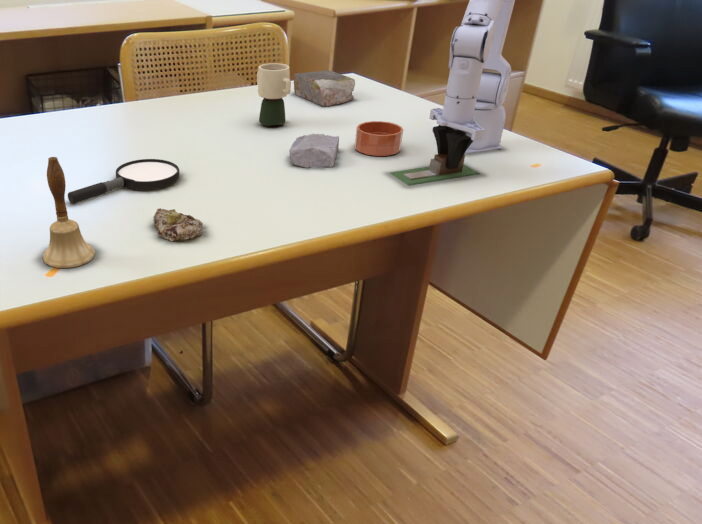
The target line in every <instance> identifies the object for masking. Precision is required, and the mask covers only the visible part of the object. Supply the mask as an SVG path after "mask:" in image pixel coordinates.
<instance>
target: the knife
mask: <svg viewBox="0 0 702 524" xmlns="http://www.w3.org/2000/svg"><path fill="white" fill-rule="evenodd" d="M447 158H448V153H443V154H438V153H437V154H434V155H433V158H430V161H429V166H428V167H429V170H426V171H420V172H413V173H407V174H404V176H405V177H407V178H408V179H410V180H414V179H420V178H426V177H433V176H438V175H443V174H450V173H456V172H462V169H463V164H464V165H465V158H466V154H464V155H463V157H462V159H461V162H460V164H459V166H458V168H455V169H448V168H447Z"/></svg>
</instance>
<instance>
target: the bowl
mask: <svg viewBox="0 0 702 524" xmlns="http://www.w3.org/2000/svg"><path fill="white" fill-rule="evenodd" d="M403 136H404V128H403V126H401V125H399V124H397V123H394V122H389V121H381V120H380V121H379V120H378V121H377V120H376V121H375V120H373V121H365V122H361V123H359V124H358V125H357V126H356V130H355V139H354V149H355V150H356V151H357V152H359V153H361V154H364V155H367V156H374V157H387V156H393V155H396V154H398V153H399V152H400V151H401V149H402V142H403Z"/></svg>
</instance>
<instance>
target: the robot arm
mask: <svg viewBox="0 0 702 524" xmlns="http://www.w3.org/2000/svg"><path fill="white" fill-rule="evenodd" d="M515 2H516V0H469V1H468V4H467V7H466V9H465V11H464V15H463V18H462V20H461V23H460V26H456V27H455V28H454V30H453V32H452V35H451V38H450V45H449V60H448V69H449V74H448V79H447V83H446V84H447V86H446V90H445V94H444V95H445V96H444V102H443V107H442V108H440V107H437V108H430V113H429V120H431V121H436V124H437V125H435V126H433V127H432V133H433V135H434V136H433V137H434V139H435V142H436V149H437V154H443V153H448V158H447V168H448V169H455V168H458V166H459V164H460V162H461V159H462V157H463V155H466V154H467V155H468V154H473V153H481V152H487V151H494V150H495V151H496V150H501V149H502V148H503V147H502V145H500V144H501V140H502V136H503V132H504V127H505V123H506V116H507V115H506V108H505V107H504V105H502V104H504V102H505V101H506V98H507V95H508V91H509V88H510V81H511V75H512V66H511V64H510V63H509V62H508V61H507V59H506V58H505V57H504V56H503V55H502V53H503V49H504V45H505V42H506V37H507V34H508V29H509V26H510V21H511V19H512V14H513V10H514V6H515ZM483 70H491V72H490V71H483ZM492 71H497V72H492Z"/></svg>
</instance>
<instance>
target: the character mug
mask: <svg viewBox="0 0 702 524" xmlns="http://www.w3.org/2000/svg"><path fill="white" fill-rule="evenodd" d="M256 85H257V93H258V97H260V98H263V99H262V101H261V104H260V111H259V117H258V122H259V123H260V125H262V126H275V127H277V126H278V125H283V124H286V108H285V101H284V99H283V98H285V97H287V96H288V95H290V94H291V90H292V88H291V87H292V81H291V79H290V66H289V65H288V64H286V63H280V62H279V63H276V62H273V63H272V62H270V63H263V64H260V65H259V66H258V68H257V72H256Z"/></svg>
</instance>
